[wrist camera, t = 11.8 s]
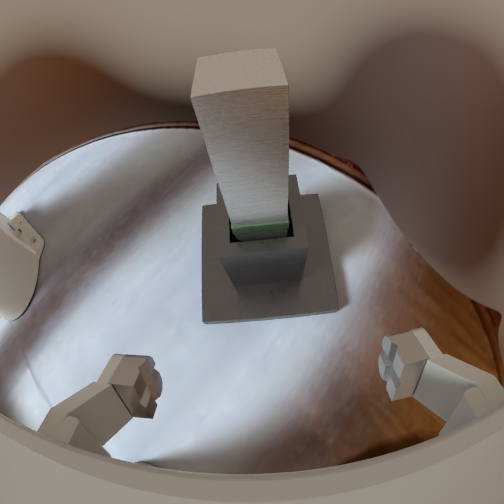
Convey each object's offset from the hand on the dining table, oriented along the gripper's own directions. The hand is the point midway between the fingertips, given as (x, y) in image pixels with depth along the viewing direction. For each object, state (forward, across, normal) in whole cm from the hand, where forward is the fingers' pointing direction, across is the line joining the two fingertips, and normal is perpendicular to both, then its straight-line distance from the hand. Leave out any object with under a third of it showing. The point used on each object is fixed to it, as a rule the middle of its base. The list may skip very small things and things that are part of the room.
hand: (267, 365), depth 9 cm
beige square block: (+18, 0, +2) cm, 18 cm away
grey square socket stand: (+22, 0, +6) cm, 23 cm away
